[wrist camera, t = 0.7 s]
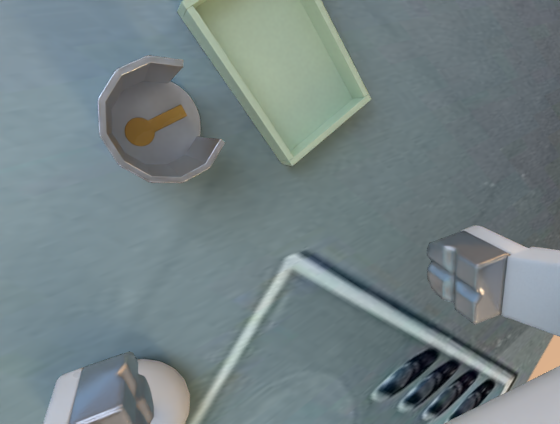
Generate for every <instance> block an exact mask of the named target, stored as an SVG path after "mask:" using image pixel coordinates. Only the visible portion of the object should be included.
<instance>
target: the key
mask: <svg viewBox="0 0 560 424" xmlns="http://www.w3.org/2000/svg"><path fill="white" fill-rule="evenodd" d="M186 116H187V114H186V112H185V110H184V109H183V107H182V105H178V106H176V107H174V108H172V109H170V110H168V111H166V112H164V113H162V114H160V115H158V116H156V117H154V118H152V119H150V120H146V119H144V118H133V119H131V120H130V121H128V123H127V124H126V126H125V136H126V138H127V139H128V141H129V142H130V143H132V144H133V145H136V146H146V145H148V144H150V143H151V142H152V141H153V139H154V136H155V132H156V131H158V130H160V129H162V128H164V127H166V126H168V125H170V124H172V123H174V122H176V121H178V120H180V119H182V118H184V117H186Z"/></svg>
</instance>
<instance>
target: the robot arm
mask: <svg viewBox="0 0 560 424" xmlns="http://www.w3.org/2000/svg"><path fill="white" fill-rule="evenodd" d="M427 256H428V258H429V259H430V260H431V263H430V264H429V266H428V268H427V279H428V281H429V284H430V286H431V288H432V289H433V291H434V292H435V293H436V294H437V295H438V296H439V297H440V298H441V299H443V300H446V301H449V302H453V303H454V307H455V310H456V311H458V312H459V313H460V314H461V315H463V316H464V317H465V318H466V319H468V320H469V321H470V322H471V323H473V324H474V325H475V324H477V323H480V322H482V321H485V320H487V319H490V318H492V317H495V316H497V315H500V314H502V315H501V316H504V317H507V318H510V319H512V320H515V321H518V322H521V323H524V324H526V325H529V326H532V327H535V328H537V329H540V330H543V331H546V332H549V333H551V334H554V335H557V336H560V250H553V249H546V248H539V247H531V248H526V247H524V246H522V245H520V244H518V243H516V242H514V241H512V240H509V239H507V238H505V237H503V236H501V235H499V234H497V233H495V232H493V231H490V230H488V229H486V228H484V227H482V226H476V225H474V226H471V227H469V228H466V229H464V230H461V231H459V232H457V233H455V234H452V235H449V236H447V237H444V238H441V239H438V240H436V241H433V242H430V243H429V245H428V247H427ZM153 418H154V405H153V399H152V393H151V390H150V387H149V384H148V382H147V380H146V377H145V376H143V375H140V374H138V361H137V359H136V357H135V356H134V354H133V353H132V352H130V351H129V352H126V353H123V354H120V355H117V356H115V357H112V358H109V359H106V360H103V361H100V362H97V363H94V364H91V365H88V366H85V367H84V368H80V369H77V370H74V371H71V372H69V373H66V374H63V375H61V376H60V377H59V378H58V379H57V381H56V384H55V387H54V390H53V394H52V397H51V400H50V403H49V406H48V409H47V412H46V415H45V419H44V422H43V424H150V423H151V421H152V420H153ZM444 424H560V366H559V367H557V368H554V369H553V370H550V371H549V372H546V373H544V374H542V375H541V376H538V377H537V378H535V379H533V380H530V381H528V382H526V383H524V384H522V385H520V386H518V387H516V388H514V389H512V390H510V391H508V392H506V393H504V394H502V395H500V396H498V397H496V398H494V399H492V400H490V401H488V402H486V403H484V404H482V405H480V406H478V407H476V408H474V409H472V410H470V411H468V412H466V413H464V414H462V415H460V416H458V417H456V418H454V419H452V420H450V421H448V422H446V423H444Z"/></svg>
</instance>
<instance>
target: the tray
mask: <svg viewBox="0 0 560 424" xmlns="http://www.w3.org/2000/svg"><path fill="white" fill-rule="evenodd" d="M177 12H178V14H179V15H180V17H181V18H182V20H183V21H184V23H185V24H186V26H187V27H188V28H189V30H190V31H191V33H192V34H193V36H194V37H195V39H196V40H197V42H198V43H199V44H200V46H201V47H202V49H203V50H204V52H205V53H206V55H207V56H208V58H209V59H210V60H211V62H212V63H213V65H214V66H215V68H216V69H217V71H218V72H219V74H220V75H221V76H222V78H223V79H224V81H225V82H226V84H227V85H228V87H229V88H230V90H231V91H232V92H233V94H234V95H235V97H236V98H237V100H238V101H239V103H240V104H241V106H242V107H243V108H244V110H245V111H246V113H247V114H248V116H249V117H250V119H251V120H252V122H253V123H254V124H255V126H256V127H257V129H258V130H259V132H260V133H261V135H262V136H263V138H264V139H265V140H266V142H267V143H268V145H269V146H270V148H271V149H272V151H273V152H274V153H275V155H276V156H277V158H278V159H279V161H280V162H281V164H285V165H290V166H293V165H294V164H296V163H297V162H298V161H299V160H300V159H301V158H303V157H304V156H305V155H306V154H307V153H309V152H310V151H311V150H312V149H313V148H314V147H316V146H317V145H318V144H319V143H320V142H321V141H323V140H324V139H325V138H326V137H327V136H329V135H330V134H331V133H332V132H333V131H334V130H336V129H337V128H338V127H339V126H340V125H342V124H343V123H344V122H345V121H346V120H347V119H349V118H350V117H351V116H352V115H353V114H355V113H356V112H357V111H358V110H359V109H360V108H362V107H363V106H364V105H365V104H366V103H368V102H369V101H370V100H371V97H370V95H369V94H368V92H367V90H366V88H365V86H364V84H363V82H362V80H361V78H360V76H359V74H358V72H357V70H356V68H355V66H354V64H353V62H352V60H351V58H350V56H349V54H348V52H347V50H346V48H345V46H344V44H343V42H342V40H341V38H340V37H339V35H338V33H337V31H336V29H335V27H334V25H333V23H332V21H331V19H330V17H329V15H328V13H327V11H326V9H325V7H324V5H323V3H322V1H321V0H183V1H182V2H181V4H180V6H179V9H178V11H177Z"/></svg>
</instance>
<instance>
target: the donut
mask: <svg viewBox="0 0 560 424" xmlns="http://www.w3.org/2000/svg"><path fill="white" fill-rule="evenodd" d="M137 361H138V374H140V375H143V376H145V377H146V380H147V382H148V384H149V387H150V390H151V393H152V399H153V405H154V418H153V420H152V421H151V423H150V424H185V422H186V420H187V417H188V415H189V407H190V393H189V390H188V387H187V385H186V382H185V380H184V378H183V377H182V376H181V375H180V374H179V373H178V372H177V371H176V369H175V368H173V367H171V366H169V365H167V364H165V363H162V362H160V361H156V360H148V359H138V360H137Z"/></svg>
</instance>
